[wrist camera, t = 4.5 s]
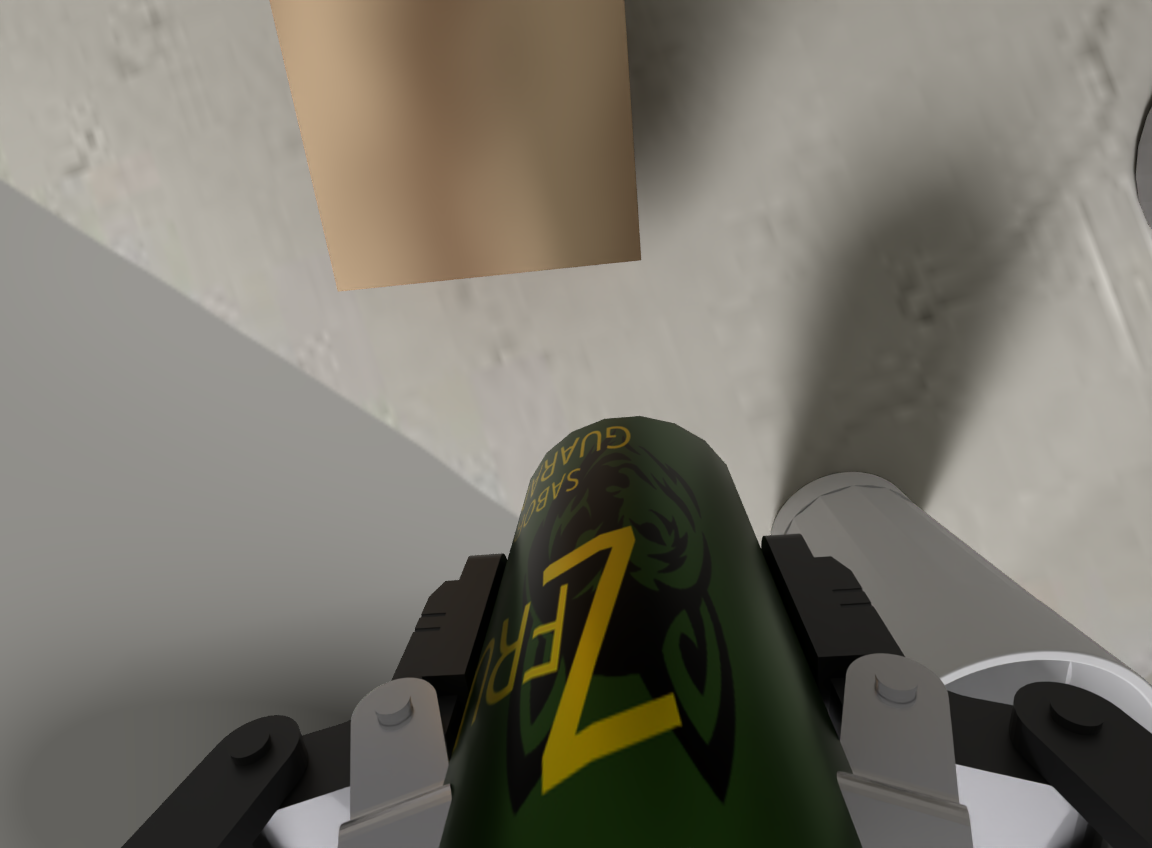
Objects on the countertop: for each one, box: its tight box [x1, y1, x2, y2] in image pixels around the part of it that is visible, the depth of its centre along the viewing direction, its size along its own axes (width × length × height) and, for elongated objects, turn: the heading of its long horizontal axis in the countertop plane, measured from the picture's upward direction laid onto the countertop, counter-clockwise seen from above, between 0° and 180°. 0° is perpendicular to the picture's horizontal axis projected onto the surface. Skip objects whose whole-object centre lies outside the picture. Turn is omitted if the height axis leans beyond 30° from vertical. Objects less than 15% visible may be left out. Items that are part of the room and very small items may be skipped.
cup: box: [771, 472, 1152, 733], centre depth 22 cm, size 8×8×12 cm
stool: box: [270, 0, 641, 291], centre depth 19 cm, size 9×9×6 cm
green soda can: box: [439, 416, 862, 848], centre depth 11 cm, size 5×5×12 cm
